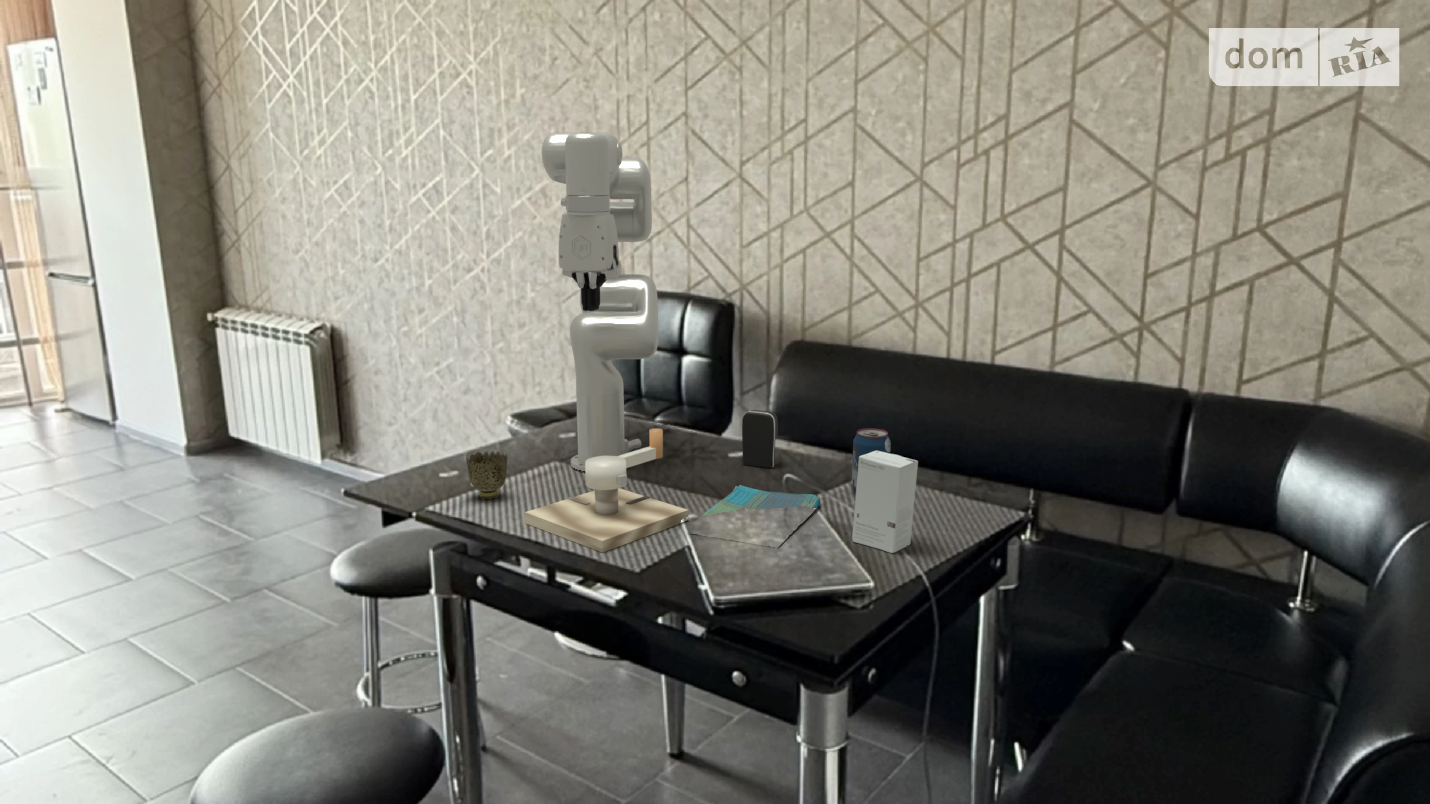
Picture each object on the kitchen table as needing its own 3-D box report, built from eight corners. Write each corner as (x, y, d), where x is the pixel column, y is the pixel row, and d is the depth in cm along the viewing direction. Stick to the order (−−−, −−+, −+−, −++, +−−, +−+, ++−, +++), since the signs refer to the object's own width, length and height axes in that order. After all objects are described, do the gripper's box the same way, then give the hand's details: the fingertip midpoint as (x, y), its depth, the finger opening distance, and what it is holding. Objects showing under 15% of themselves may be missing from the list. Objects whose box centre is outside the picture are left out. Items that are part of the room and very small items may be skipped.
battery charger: (779, 464, 215) (780, 410, 212) (772, 469, 211) (773, 414, 208) (747, 460, 217) (748, 407, 215) (740, 465, 214) (741, 411, 211)
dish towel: (823, 507, 190) (823, 494, 190) (779, 551, 170) (779, 537, 169) (736, 495, 197) (736, 482, 196) (684, 536, 176) (684, 522, 176)
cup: (499, 505, 190) (497, 463, 188) (461, 502, 191) (459, 460, 189) (515, 492, 197) (513, 451, 195) (478, 489, 198) (476, 449, 196)
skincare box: (851, 542, 172) (854, 456, 169) (870, 532, 177) (874, 448, 173) (895, 554, 167) (899, 466, 163) (914, 544, 171) (918, 457, 168)
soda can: (895, 493, 197) (898, 432, 194) (874, 502, 192) (877, 439, 189) (865, 485, 201) (867, 425, 199) (844, 493, 196) (846, 432, 194)
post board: (610, 495, 195) (610, 461, 193) (688, 520, 182) (688, 484, 180) (525, 523, 181) (523, 486, 179) (602, 552, 168) (601, 513, 166)
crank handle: (678, 470, 187) (678, 433, 185) (608, 493, 174) (607, 453, 173) (644, 461, 192) (643, 424, 191) (574, 483, 180) (573, 444, 178)
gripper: (540, 206, 182) (543, 310, 186) (616, 208, 176) (618, 315, 180) (562, 203, 188) (565, 304, 193) (636, 205, 183) (637, 309, 187)
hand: (591, 309), depth 186 cm, fingers closed
